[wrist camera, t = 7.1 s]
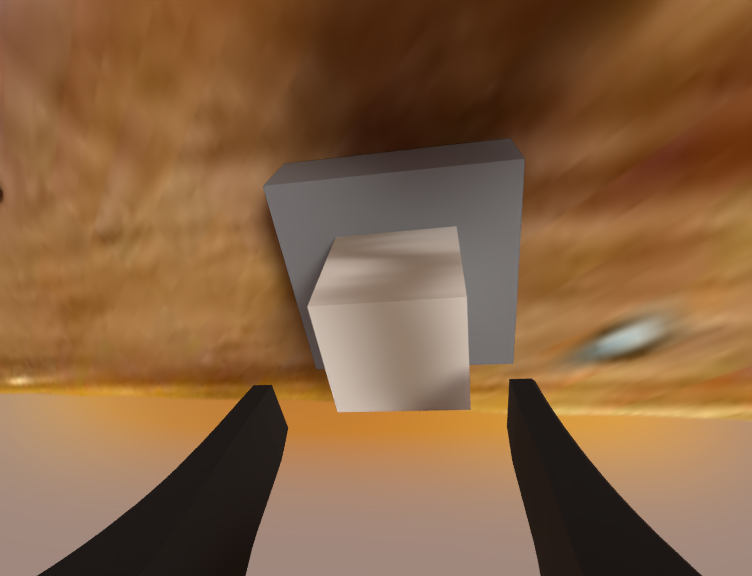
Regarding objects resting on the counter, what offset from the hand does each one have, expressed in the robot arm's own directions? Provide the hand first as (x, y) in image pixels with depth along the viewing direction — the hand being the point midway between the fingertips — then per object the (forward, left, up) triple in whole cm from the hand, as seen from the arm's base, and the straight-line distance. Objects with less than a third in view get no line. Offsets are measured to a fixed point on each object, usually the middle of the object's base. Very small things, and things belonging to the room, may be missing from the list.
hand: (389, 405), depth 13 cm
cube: (0, 0, -7) cm, 7 cm away
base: (0, 0, -10) cm, 10 cm away
